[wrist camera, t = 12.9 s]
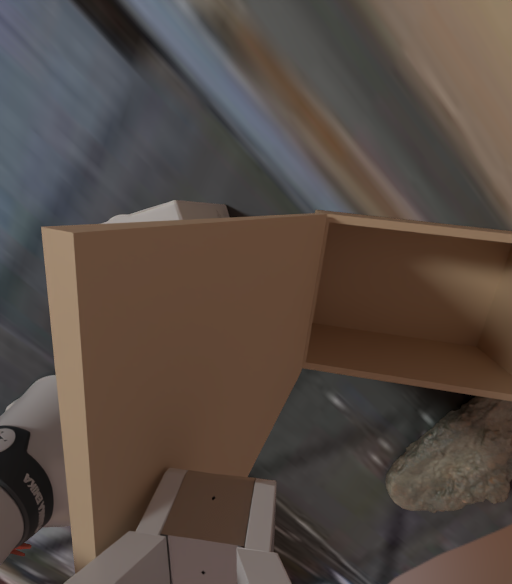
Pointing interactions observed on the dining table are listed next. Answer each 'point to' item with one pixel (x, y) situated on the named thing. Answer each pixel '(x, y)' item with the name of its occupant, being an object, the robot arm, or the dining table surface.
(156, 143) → the dining table surface
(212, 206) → the skincare box
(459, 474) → the long grey stone
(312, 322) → the carton
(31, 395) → the robot arm
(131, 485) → the lid flap
